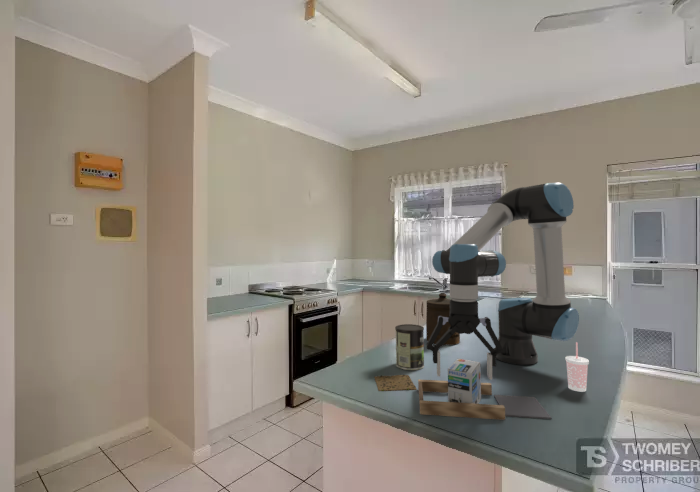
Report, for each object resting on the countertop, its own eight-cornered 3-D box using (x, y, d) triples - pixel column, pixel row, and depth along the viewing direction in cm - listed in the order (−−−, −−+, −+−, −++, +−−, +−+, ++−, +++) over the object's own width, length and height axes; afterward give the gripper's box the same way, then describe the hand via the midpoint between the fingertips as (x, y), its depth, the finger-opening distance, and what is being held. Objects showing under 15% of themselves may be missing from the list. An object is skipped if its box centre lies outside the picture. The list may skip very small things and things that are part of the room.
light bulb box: (473, 414, 91) (472, 373, 91) (447, 408, 94) (446, 368, 94) (481, 399, 100) (481, 361, 100) (457, 394, 104) (457, 357, 103)
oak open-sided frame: (490, 393, 104) (490, 383, 104) (505, 419, 88) (505, 407, 88) (418, 389, 107) (418, 379, 107) (419, 414, 91) (419, 402, 91)
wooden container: (458, 337, 166) (458, 291, 166) (461, 346, 151) (460, 295, 151) (426, 336, 169) (426, 290, 169) (426, 344, 155) (425, 294, 155)
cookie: (373, 377, 118) (373, 374, 118) (408, 376, 119) (408, 373, 119) (378, 392, 106) (377, 389, 106) (417, 391, 107) (417, 388, 107)
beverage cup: (561, 384, 109) (560, 339, 109) (581, 384, 109) (580, 339, 109) (573, 392, 103) (572, 345, 103) (594, 392, 103) (593, 345, 103)
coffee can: (424, 361, 132) (423, 324, 132) (424, 371, 122) (423, 331, 122) (396, 360, 134) (396, 323, 134) (394, 369, 124) (394, 330, 124)
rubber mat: (534, 398, 100) (534, 397, 100) (551, 419, 88) (551, 417, 88) (493, 396, 102) (493, 394, 102) (505, 416, 90) (505, 414, 90)
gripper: (507, 298, 99) (507, 374, 99) (417, 296, 103) (417, 369, 103) (515, 302, 91) (515, 384, 91) (418, 300, 96) (418, 378, 95)
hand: (463, 376), depth 97 cm, fingers open, 13 cm apart
